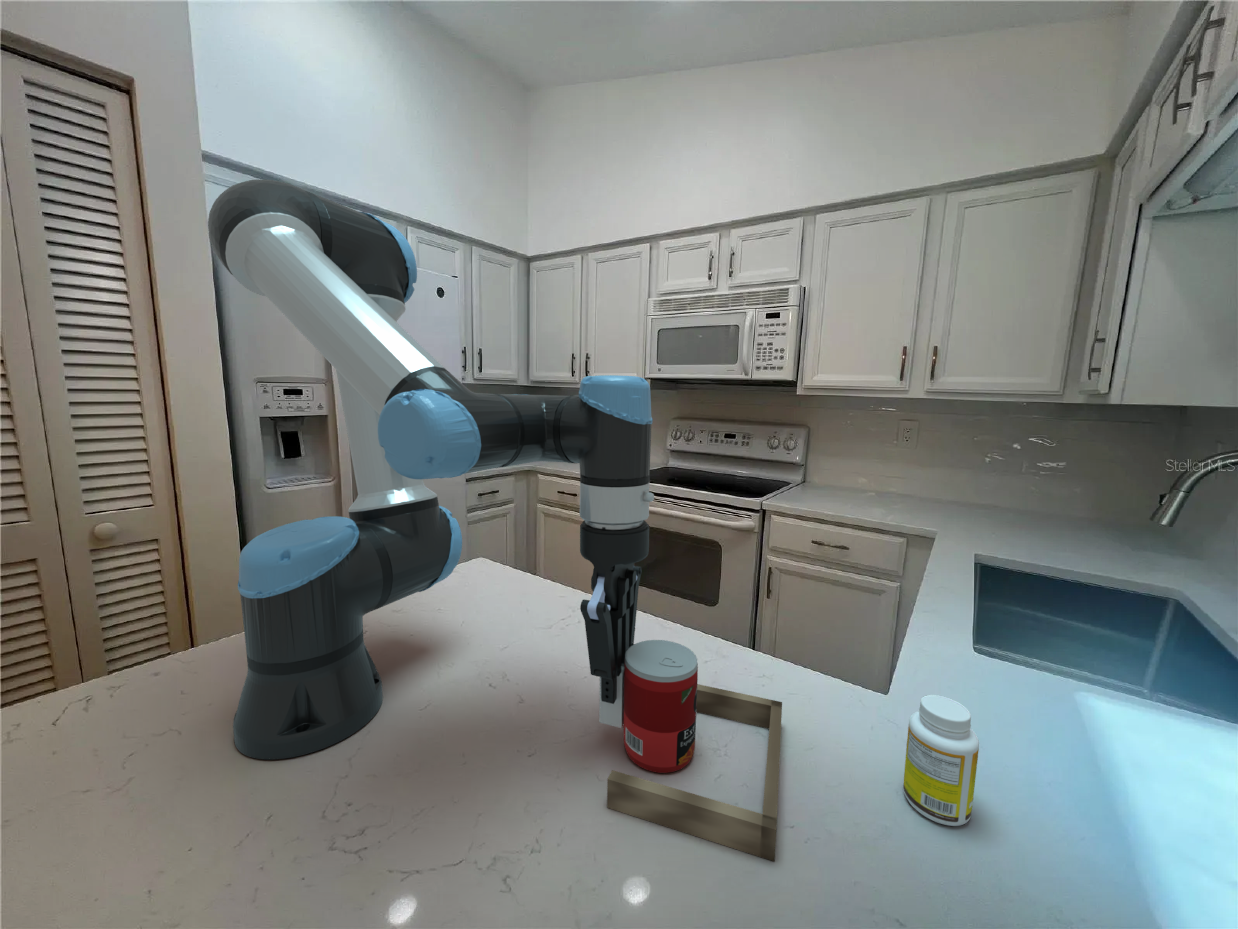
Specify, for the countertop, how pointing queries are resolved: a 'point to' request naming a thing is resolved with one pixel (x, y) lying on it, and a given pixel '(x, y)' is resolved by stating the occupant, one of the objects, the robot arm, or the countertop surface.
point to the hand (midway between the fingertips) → (612, 721)
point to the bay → (704, 813)
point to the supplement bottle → (941, 761)
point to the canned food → (660, 705)
